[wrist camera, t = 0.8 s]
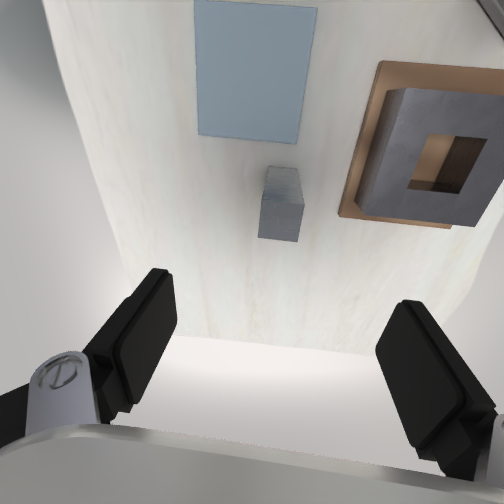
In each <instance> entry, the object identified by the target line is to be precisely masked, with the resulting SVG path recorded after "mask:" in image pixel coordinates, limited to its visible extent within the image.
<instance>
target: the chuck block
mask: <svg viewBox="0 0 504 504" xmlns="http://www.w3.org/2000/svg"><path fill="white" fill-rule="evenodd" d="M429 134H440V135H451V136H455V138H454V140H453V143H452V145H451V147H450V149H449V151H448V154H447V156H446V158H445V160H444V162H443V164H442V167H441V169H440V171H439V173H438V175H437V178H436V180H435V182H431V181H421V180H411V177H412V175H413V172H414V170H415V167H416V165H417V163H418V160H419V158H420V155H421V153H422V150H423V148H424V145H425V143H426V140H427V138H428V135H429ZM503 179H504V96H503V95H491V94H479V93H467V92H454V91H442V90H430V89H417V88H401V89H393V90H387V92H386V96H385V99H384V102H383V106H382V109H381V112H380V115H379V119H378V122H377V125H376V129H375V132H374V135H373V139H372V142H371V145H370V149H369V152H368V155H367V159H366V162H365V165H364V169H363V172H362V175H361V179H360V182H359V185H358V189H357V192H356V195H355V199H354V202H355V203H356V205H357V206H358V207H359V209H360V210H361V211H362V213H363V214H364V215H368V216H377V217H386V218H395V219H405V220H414V221H423V222H432V223H442V224H451V225H460V226H469V227H475V226H476V224H477V223H478V221H479V219H480V218H481V216H482V214H483V213H484V211H485V209H486V208H487V206H488V204H489V203H490V201H491V199H492V198H493V196H494V194H495V193H496V191H497V189H498V188H499V186H500V184H501V183H502V181H503Z"/></svg>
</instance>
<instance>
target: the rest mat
mask: <svg viewBox="0 0 504 504" xmlns="http://www.w3.org/2000/svg"><path fill="white" fill-rule="evenodd" d="M316 15H317V8H314V7H299V6H284V5H269V4H254V3H239V2H223V1H208V0H194V22H195V51H196V79H197V108H198V135H205V136H216V137H226V138H237V139H247V140H258V141H268V142H279V143H289V144H297V137H298V131H299V124H300V118H301V111H302V105H303V98H304V92H305V86H306V79H307V73H308V66H309V60H310V53H311V47H312V41H313V34H314V28H315V21H316Z"/></svg>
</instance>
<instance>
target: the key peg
mask: <svg viewBox="0 0 504 504" xmlns="http://www.w3.org/2000/svg"><path fill="white" fill-rule="evenodd" d="M304 205H305V204H304V199H303V195H302V190H301V185H300V181H299V176H298V172H297V169H293V168H283V167H273V166H269V169H268V173H267V178H266V182H265V187H264V191H263V196H262V201H261V212H260V222H259V232H258V238H266V239H275V240H283V241H292V242H297V241H298V236H299V231H300V226H301V221H302V215H303V210H304Z"/></svg>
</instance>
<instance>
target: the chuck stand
mask: <svg viewBox="0 0 504 504" xmlns="http://www.w3.org/2000/svg"><path fill="white" fill-rule="evenodd" d="M401 88H417V89H430V90H442V91H454V92H467V93H479V94H491V95H503V96H504V70H502V69H489V68H476V67H462V66H449V65H436V64H423V63H410V62H397V61H384V60H383V61H381V62H379V65H378V69H377V73H376V76H375V80H374V84H373V87H372V91H371V95H370V98H369V102H368V106H367V109H366V113H365V117H364V120H363V124H362V128H361V131H360V135H359V138H358V142H357V146H356V149H355V153H354V157H353V160H352V164H351V168H350V171H349V175H348V179H347V182H346V186H345V190H344V193H343V197H342V201H341V204H340V208H339V212H338V215H339V217H344V218H353V219H362V220H371V221H380V222H390V223H399V224H408V225H417V226H426V227H435V228H444V229H450V228H451V227H452V225H451V224H442V223H432V222H423V221H414V220H405V219H395V218H386V217H377V216H368V215H364V214H363V213H362V211H361V210H360V209H359V207H358V206H357V205H356V203H355V202H354V199H355V195H356V192H357V189H358V185H359V182H360V179H361V175H362V172H363V169H364V165H365V162H366V159H367V155H368V152H369V149H370V145H371V142H372V139H373V135H374V132H375V129H376V125H377V122H378V119H379V115H380V112H381V109H382V106H383V102H384V99H385V96H386V92H387V90H393V89H401ZM454 138H455V136H451V135H440V134H429V135H428V138H427V140H426V143H425V145H424V148H423V150H422V153H421V155H420V158H419V160H418V163H417V165H416V167H415V170H414V172H413V175H412V177H411V180H421V181H431V182H435V180H436V178H437V175H438V173H439V171H440V169H441V167H442V164H443V162H444V160H445V158H446V156H447V154H448V151H449V149H450V147H451V145H452V143H453V140H454Z"/></svg>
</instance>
